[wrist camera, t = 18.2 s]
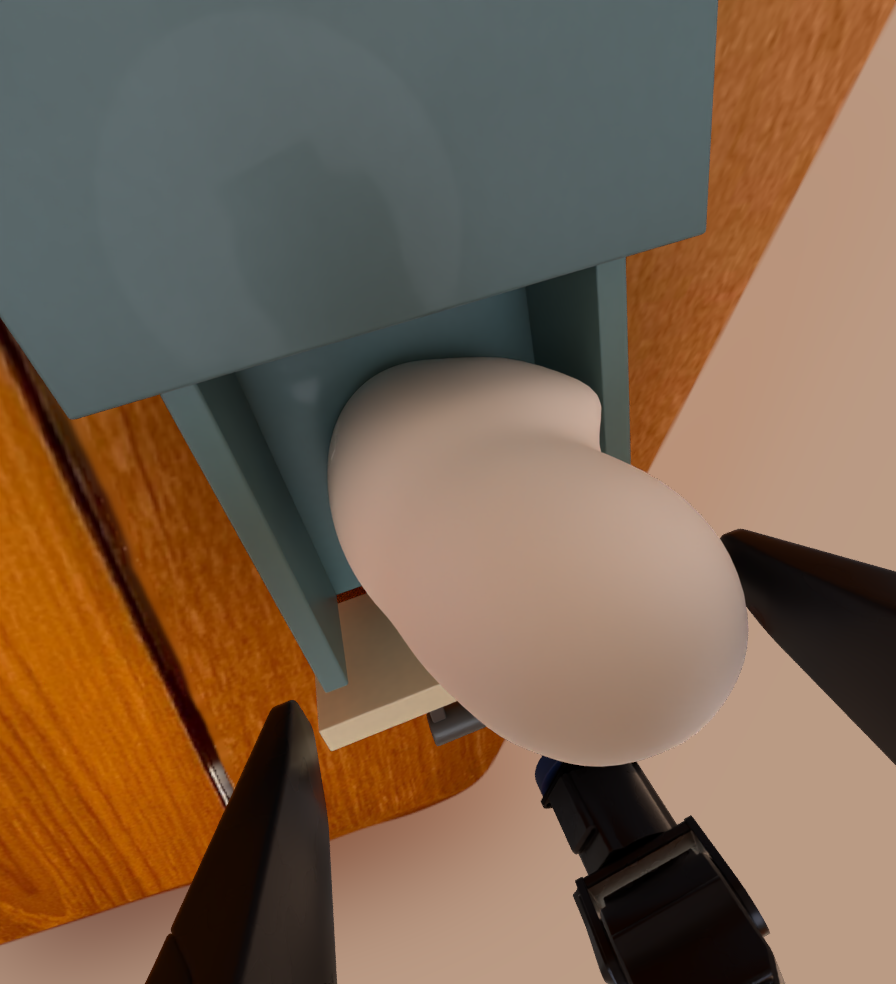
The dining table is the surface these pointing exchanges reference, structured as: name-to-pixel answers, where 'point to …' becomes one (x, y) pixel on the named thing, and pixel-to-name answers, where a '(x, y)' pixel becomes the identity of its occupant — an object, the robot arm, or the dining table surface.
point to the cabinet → (324, 169)
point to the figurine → (534, 560)
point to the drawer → (304, 482)
